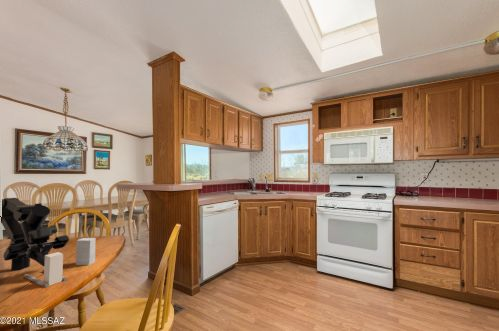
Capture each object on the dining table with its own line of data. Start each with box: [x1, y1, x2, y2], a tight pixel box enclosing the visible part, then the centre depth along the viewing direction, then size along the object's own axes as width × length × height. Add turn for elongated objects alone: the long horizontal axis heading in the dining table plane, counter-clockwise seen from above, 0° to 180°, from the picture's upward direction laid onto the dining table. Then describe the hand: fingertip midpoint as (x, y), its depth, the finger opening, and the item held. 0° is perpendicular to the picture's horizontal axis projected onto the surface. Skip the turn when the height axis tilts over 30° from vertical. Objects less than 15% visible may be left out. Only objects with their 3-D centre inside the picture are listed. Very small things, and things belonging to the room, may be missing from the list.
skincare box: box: [75, 237, 97, 266], centre depth 104 cm, size 6×4×12 cm
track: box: [24, 268, 68, 289], centre depth 89 cm, size 17×7×2 cm, turn 62°
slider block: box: [43, 251, 64, 286], centre depth 86 cm, size 4×4×10 cm
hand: (45, 265), depth 89 cm, fingers closed
